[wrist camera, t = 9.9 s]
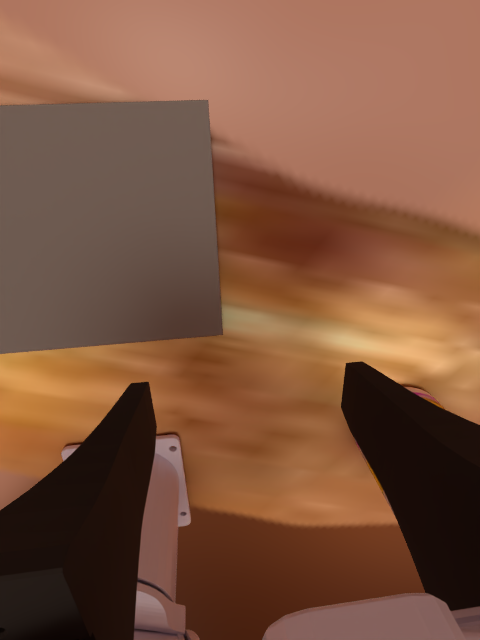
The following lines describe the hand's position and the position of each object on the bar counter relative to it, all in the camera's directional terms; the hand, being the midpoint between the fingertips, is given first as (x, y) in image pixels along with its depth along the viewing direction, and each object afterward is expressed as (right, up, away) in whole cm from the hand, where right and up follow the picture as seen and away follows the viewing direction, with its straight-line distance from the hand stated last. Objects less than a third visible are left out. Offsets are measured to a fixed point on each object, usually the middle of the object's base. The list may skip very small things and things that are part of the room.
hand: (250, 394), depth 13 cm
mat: (-13, +7, +6) cm, 15 cm away
